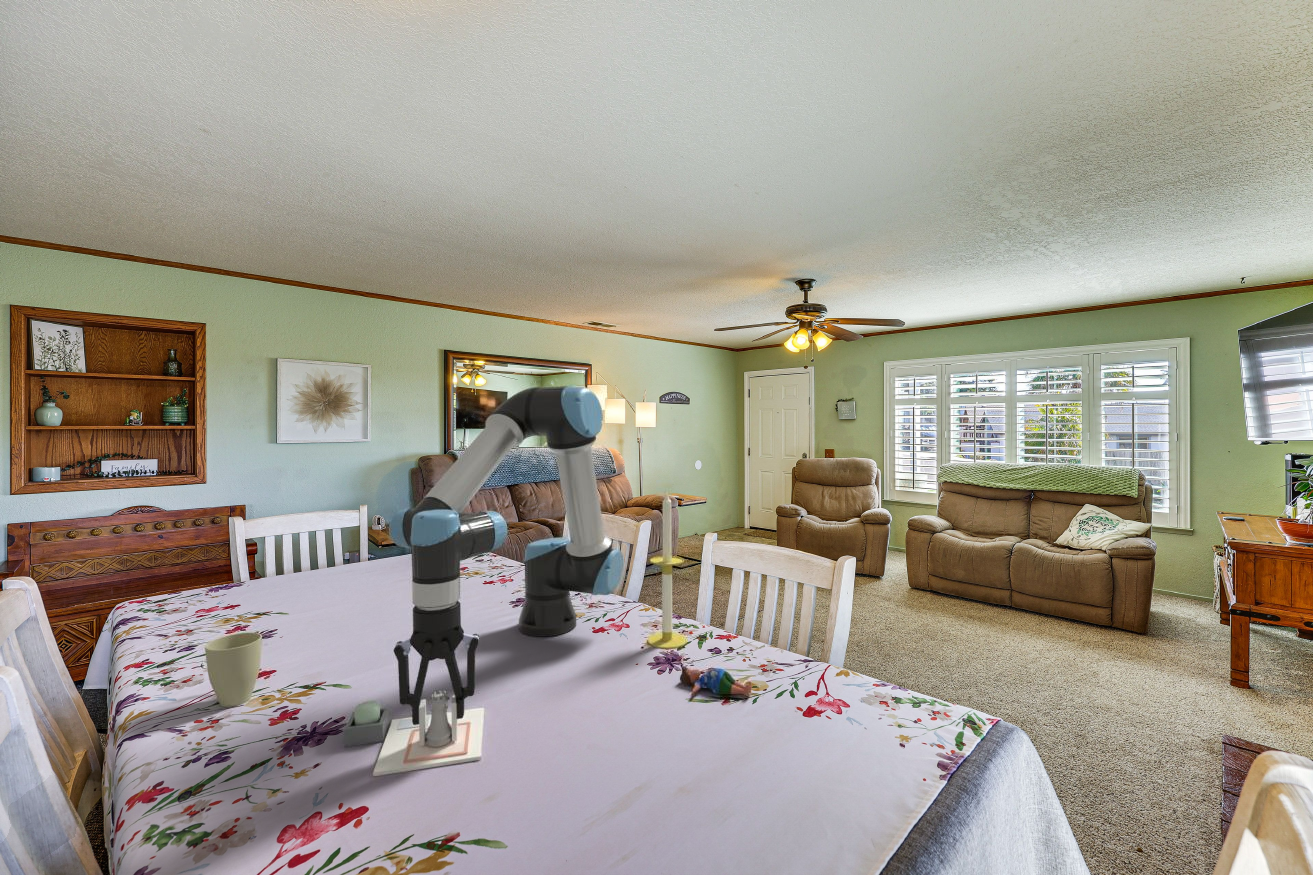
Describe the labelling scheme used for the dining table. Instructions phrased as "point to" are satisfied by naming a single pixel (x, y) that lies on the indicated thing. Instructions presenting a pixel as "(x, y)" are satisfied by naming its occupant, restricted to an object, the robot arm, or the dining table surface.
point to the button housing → (366, 730)
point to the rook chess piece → (438, 721)
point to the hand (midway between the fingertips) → (439, 738)
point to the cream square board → (409, 755)
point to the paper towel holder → (667, 587)
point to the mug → (234, 666)
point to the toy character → (714, 681)
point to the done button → (367, 713)
